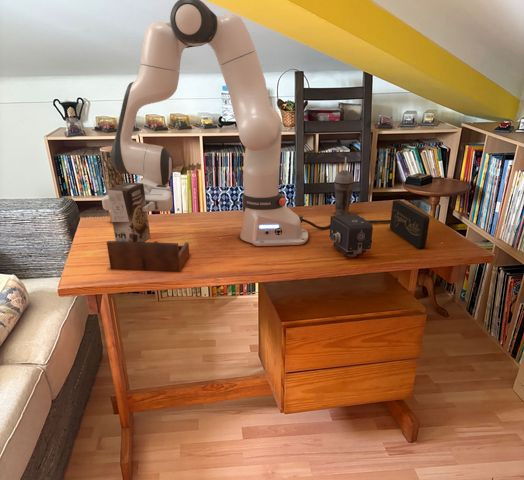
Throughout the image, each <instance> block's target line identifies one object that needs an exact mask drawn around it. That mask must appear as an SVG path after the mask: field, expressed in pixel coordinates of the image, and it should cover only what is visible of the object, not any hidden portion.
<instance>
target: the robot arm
mask: <svg viewBox="0 0 524 480" xmlns="http://www.w3.org/2000/svg"><path fill="white" fill-rule="evenodd" d="M205 45H208V46H210V48H211V49H212V50H213V52H214V55H215V58H216V60H217V63H218V66H219V68H220V73H221V75H222V78H223V80H224V83H225V86H226V88H227V92H228V94H229V98H230V102H231V108H232V112H233V115H234V120H235V123H236V127H237V130H238V136H239V140H240V142H241V144H242V146H244V148H245V150H244V160H243V193H242V196H241V197H242V198H241V199H242V200H241V202H242V211H243V217H242V224H241V230H240V233H239V238H240V239H241V240H242V241H244V242H247V243H250V244H252V245H254V246H256V247H275V246H277V247H279V246H301V245H305V243H308V241H309V232H308V231H307V230H306V229H304V228H303V225H302V224H303V223H306V224H308V225H310V226H312V227H314V228H315V229H318V230H328V229H330V224H328V225H326V226H319V225H317V224H315V223H313V222H312V221H311V220H307V219H305V218H304V217H303V216H304V215H302V214H297V213H295V212H294V211H293V210H291V209H290V208H289V207H288V206H286V202H287V199H286V196H285V193H283V194H282V193H281V192H280V160H281V149H282V148H281V147H282V131H283V130H282V129H283V122H282V117H281V115H280V114H279V112H278V111H277V110H276V109H275V108H273V107H272V106H271V101H270V97H269V93H268V89H267V88H268V87H267V83H266V78H265V75H264V72H263V69H262V66H261V63H260V59H259V57H258V53H257V50H256V47H255V45H254V43H253V39H252V37H251V34H250V32H249V30H248V29H247V26H246V24H245V22H244V20H243V19H242V17H241V16H239V15H238V14H235V13H226V14H225V13H224V14H223V15H216V14H215V13H214V11H212V10H211V9H210V7H209V6H208V5H207V4H206V3H205V2H204V1H202V0H177V1H176V2H175V3H174V4H173V6H172V8H171V11H170V15H169V21H168V22H164V21H157V22H153V23H150V24H149V25H147V27H146V29H145V33H144V37H143V42H142V46H141V54H140V65H139V66H140V67H139V71H138V74H137V76H136V77H135V80H134V81H132V82H129V84H128V85H127V87H126V90H125V93H124V96H123V100H122V103H121V109H120V114H119V117H118V118H119V119H118V122H117V126H116V127H117V128H116V131H115V137H114V140H113V143H112V145H111V146H112V150H111V154H110V161H111V164H112V165H113V167H114V168H115V169H116V170H117V171H118V172H119V173H123V174H124V175H135V176H141V177H142V178H141V179H140V180H138V181H137V182H136V183H143V184H144V192H145V200H146V205H143V206H142V213H147V214H148V213H149V212H171V211H172V210H173V206H174V205H173V203H174V202H173V192H172V187H171V186H170V184H169V182H170V181H171V179H172V177H173V170H174V161H173V160H174V159H173V157H172V154H171V153H170V151H169V149H167V147H165V146H162V145H157V144H151V143H145V142H139V141H135V140H133V138H132V137H133V132H134V128H135V123H136V118H137V115H138V112H139V110H140V109H141V108H142V107H144V106H147V105H150V104H151V105H152V104H156V103H160V102H164V101H166V100H168V99H170V98H171V97H172V96H173V95H174V94H175V93H176V91H177V90H178V85H179V80H180V72H181V71H180V70H181V60H182V54H183V52H184V50H185V49H189V48H195V47H202V46H205ZM101 204H102V209H103V210H104V211H109V210H110V203H109V197H108V195H105V196H103V197H102V198H101ZM365 220H366V219H365ZM366 221H368V222H370V223H371V224H383V223H384V224H388V223H389V224H390V221H391V219H377V220H375V219H374V220H373V219H370V220H369V219H368V220H366Z"/></svg>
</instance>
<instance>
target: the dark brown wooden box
mask: <svg viewBox="0 0 524 480" xmlns="http://www.w3.org/2000/svg"><path fill="white" fill-rule="evenodd" d="M106 247H107V254H108V260H109V266H110V270H120V271H121V270H125V271H128V270H129V271H150V272H151V271H152V272H154V271H155V272H175V273H176V272H180V271H181V270H182V269H183V266H184V265H185V263H186V262H187V260H188V258H189V257H190V243H189V242H187V241H186V242H184V244H183V245H181V244H179V243H178V242H158V241H155V240H154V241H145V242H126V241H115V240H108V241H106Z"/></svg>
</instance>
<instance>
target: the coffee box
mask: <svg viewBox="0 0 524 480" xmlns="http://www.w3.org/2000/svg"><path fill="white" fill-rule="evenodd" d="M108 197H109V203H110V210H111V216H112V222H113V223H112V222H111V223H112V227H113V235H114V241H126V242H148V241H149V240H151V230H150V224H149V223H150V222H149V216H148V213H142V206H143V205H146V200H145V192H144V184H143V183H137V182H125V183H123V184H120V185H118V186H115V187H113V188H110V189H108Z"/></svg>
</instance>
